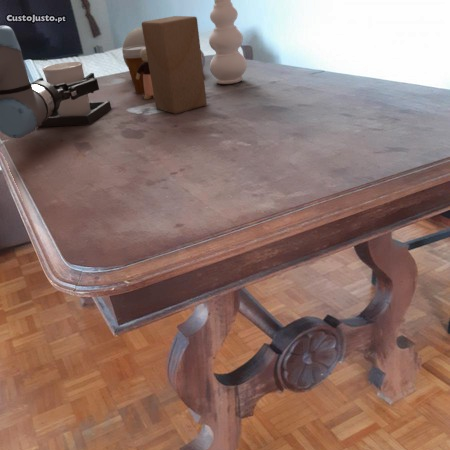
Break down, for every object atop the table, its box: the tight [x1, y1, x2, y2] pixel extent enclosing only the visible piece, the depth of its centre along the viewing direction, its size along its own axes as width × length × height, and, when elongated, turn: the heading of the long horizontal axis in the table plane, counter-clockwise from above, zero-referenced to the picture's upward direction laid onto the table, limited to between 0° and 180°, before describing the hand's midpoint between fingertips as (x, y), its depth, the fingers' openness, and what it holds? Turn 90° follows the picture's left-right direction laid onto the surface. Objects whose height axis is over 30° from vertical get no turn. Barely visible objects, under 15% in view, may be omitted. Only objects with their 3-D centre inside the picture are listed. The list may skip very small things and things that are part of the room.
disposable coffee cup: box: [122, 45, 146, 95], centre depth 140 cm, size 10×10×12 cm
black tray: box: [37, 100, 112, 128], centre depth 125 cm, size 14×14×2 cm
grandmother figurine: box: [136, 48, 155, 100], centre depth 133 cm, size 8×4×13 cm, turn 112°
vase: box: [208, 0, 248, 85], centre depth 135 cm, size 11×11×25 cm
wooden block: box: [141, 15, 207, 115], centre depth 118 cm, size 10×10×20 cm
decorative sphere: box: [122, 26, 145, 68], centre depth 157 cm, size 15×15×15 cm
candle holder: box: [42, 61, 91, 116], centre depth 122 cm, size 10×10×12 cm
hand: (68, 81), depth 122 cm, fingers open, 13 cm apart
